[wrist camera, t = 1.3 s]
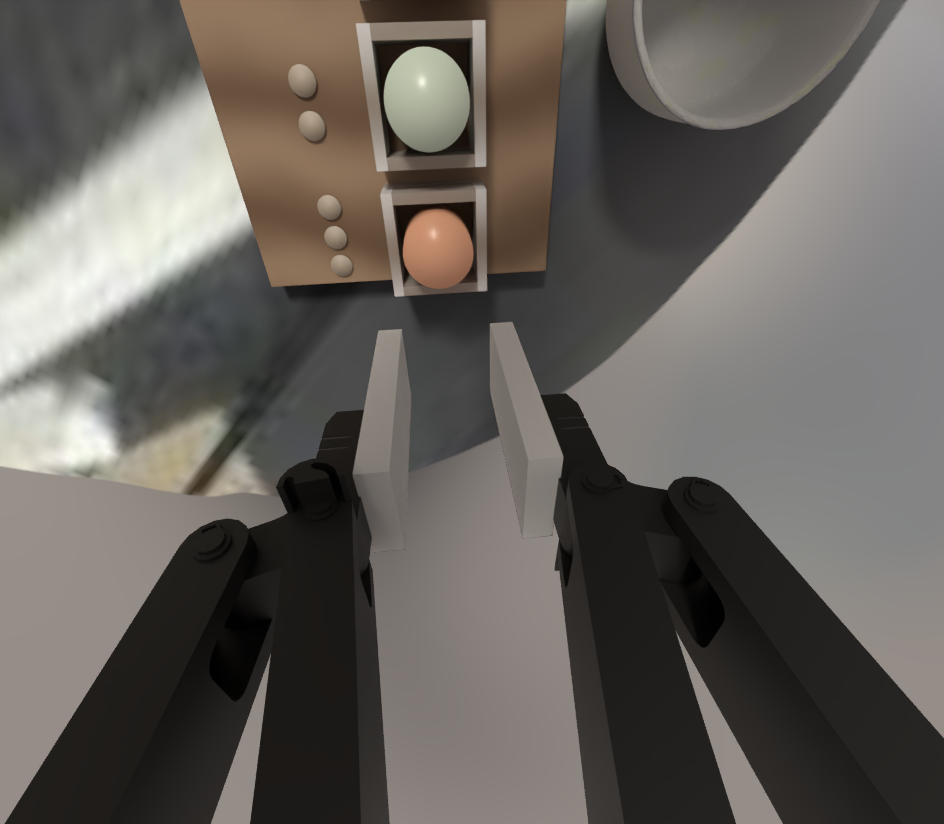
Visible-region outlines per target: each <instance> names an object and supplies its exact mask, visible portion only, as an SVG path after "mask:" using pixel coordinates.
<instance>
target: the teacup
mask: <svg viewBox="0 0 944 824" xmlns="http://www.w3.org/2000/svg"><path fill="white" fill-rule="evenodd" d="M880 1H881V0H607V5H606V37H607V44H608V50H609V55H610V59H611V62H612V65H613V68H614V71H615V73H616V76H617V78H618V80H619V82H620V83H621V85H622V87H623V88H624V90H625V91H626V92H627V93H628V95H629V96H630V97H631V98H632V99H633V100H634V101H635V102H636V103H637V104H638V105H639V106H641V107H642V108H643V109H645V110H646V111H648V112H650V113H652V114H654V115H656V116H659V117H662V118H665V119H668V120H672V121H676V122H681V123H687V124H689V125H692V126H695V127H698V128H702V129H708V130H727V129H736V128H739V127H743V126H749V125H752V124H755V123H758V122H761V121H763V120H765V119H768V118H770V117H772V116H774V115H776V114H778V113H780V112H782V111H783V110H785V109H786V108H788V107H789V106H791V105H792V104H794V103H796V102H797V101H799V100H800V99H801V98H802V97H804V96H805V95H806V94H808V93H809V92H810V91H811V90H812V89H813V88H814V87H815V86H816V85H818V84H819V83H820V82H821V81H822V80H823V79H824V78H825V77H826V76H827V75H828V74H829V73H830V72H831V71H832V70H833V69H834V68H835V66H836V65H837V63H838V62H839V61H840V60H841V59H842V58H843V57H844V56H845V55H846V54H847V52H848V50H849V48H850V47H851V46H852V45H853V43H854V42H855V41H856V39H857V37H858V36H859V35H860V34H861V32H862V31H863V30H864V29H865V27H866V25H867V23H868V21H869V20H870V18H871V16H872V15H873V13H874V11H875V10H876V8H877V6H878V4H879V3H880Z"/></svg>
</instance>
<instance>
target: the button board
mask: <svg viewBox="0 0 944 824" xmlns="http://www.w3.org/2000/svg"><path fill="white" fill-rule="evenodd" d="M180 3H181V6H182V9H183V12H184V16H185V19H186V22H187V25H188V28H189V31H190V34H191V37H192V40H193V44H194V47H195V50H196V53H197V56H198V59H199V62H200V65H201V68H202V71H203V75H204V78H205V81H206V84H207V87H208V90H209V93H210V96H211V99H212V103H213V106H214V109H215V112H216V115H217V118H218V121H219V124H220V127H221V131H222V134H223V137H224V140H225V143H226V146H227V149H228V152H229V155H230V158H231V162H232V165H233V168H234V171H235V174H236V177H237V180H238V183H239V186H240V190H241V193H242V196H243V199H244V202H245V205H246V208H247V211H248V214H249V218H250V221H251V224H252V227H253V230H254V233H255V236H256V239H257V242H258V246H259V249H260V252H261V255H262V258H263V261H264V264H265V267H266V270H267V273H268V277H269V280H270V283H271V286H272V287H277V286H293V285H310V284H327V283H344V282H361V281H377V280H393V287H394V294H395V297H397V296H413V295H429V294H445V293H462V292H478V291H487V274H495V273H512V272H529V271H545V269H546V256H547V243H548V231H549V218H550V205H551V192H552V179H553V166H554V153H555V141H556V128H557V115H558V102H559V89H560V76H561V63H562V51H563V38H564V25H565V12H566V0H180ZM416 47H432V48H436V49H438V50H441V51H442V52H444V53H446V54H447V55H448V56H450V57H451V58H452V59H453V60H454V61H455V62H456V64H457V65H458V66H459V68H460V69H461V71H462V73H463V75H464V77H465V79H466V82H467V86H468V90H469V97H470V109H469V115H468V119H467V123H466V125H465V128H464V130H463V132H462V133H461V135H460V136H459V138H458V139H457V140H456V141H455V142H454V143H453V144H451V145H450V146H449V147H447V148H445V149H443V150H440V151H437V152H422V151H418V150H415V149H413V148H411V147H410V146H408V145H407V144H405V143H404V142H403V141H402V140H401V139H400V138H399V137H398V136H397V135H396V133H395V132H394V130H393V129H392V127H391V125H390V123H389V120H388V118H387V115H386V111H385V106H384V87H385V82H386V78H387V75H388V73H389V70H390V69H391V67H392V65H393V64H394V62H395V61H396V60H397V59H398V58H399V57H400V56H401V55H402V54H403V53H405V52H406V51H408V50H410V49H413V48H416ZM429 205H443V206H446V207H449V208H451V209H453V210H454V211H456V212H457V213H458V214H459V215H460V216H461V217H462V219H463V220H464V222H465V224H466V226H467V229H468V232H469V235H470V238H471V241H472V245H473V252H474V254H473V262H472V265H471V268H470V270H469V272H468V274H467V275H466V276H465V277H464V278H463V279H462V280H461V281H460V282H459V283H457V284H456V285H454V286H451V287H448V288H443V289H434V288H430V287H426V286H424V285H422V284H420V283H419V282H417V281H416V280H415V279H414V278H413V277H412V276H411V275H410V273H409V272H408V270H407V268H406V266H405V263H404V259H403V245H404V236H405V230H406V226H407V224H408V222H409V220H410V218H411V217H412V216H413V215H414V213H416V212H417V211H418V210H420V209H421V208H423V207H426V206H429Z"/></svg>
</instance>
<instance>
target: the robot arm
mask: <svg viewBox="0 0 944 824" xmlns="http://www.w3.org/2000/svg"><path fill="white" fill-rule="evenodd" d="M490 393H491V397H492V402H493V406H494V411H495V415H496V420H497V425H498V429H499V434H500V438H501V443H502V447H503V452H504V456H505V461H506V465H507V470H508V474H509V479H510V483H511V488H512V492H513V497H514V501H515V506H516V511H517V515H518V520H519V524H520V529H521V533H522V537H523V538H533V537H544V536H552V535H553V528H554V524H555V527H556V530H557V533H558V537H559V543H558V550H557V556H556V562H555V571H560V580H561V587H562V597H563V605H564V614H565V623H566V631H567V641H568V649H569V657H570V667H571V675H572V684H573V693H574V702H575V710H576V719H577V728H578V735H579V745H580V754H581V762H582V770H583V780H584V789H585V797H586V805H587V815H588V823H589V824H736V823H735V819H734V816H733V813H732V809H731V806H730V803H729V800H728V797H727V794H726V790H725V787H724V784H723V781H722V778H721V774H720V771H719V768H718V765H717V762H716V759H715V755H714V752H713V749H712V746H711V743H710V739H709V736H708V733H707V730H706V727H705V723H704V720H703V717H702V714H701V711H700V708H699V704H698V701H697V698H696V695H695V692H694V689H693V685H692V682H691V679H690V676H689V672H688V670H687V666H686V663H685V660H684V657H683V654H682V650H681V647H680V644H679V641H678V637H677V634H678V635H679V637H680V639H681V641H682V643H683V645H684V646H685V648H686V650H687V652H688V654H689V655H690V657H691V659H692V661H693V663H694V664H695V666H696V668H697V670H698V672H699V673H700V675H701V677H702V679H703V681H704V682H705V684H706V686H707V688H708V689H709V691H710V693H711V695H712V697H713V699H714V700H715V702H716V704H717V706H718V707H719V709H720V711H721V713H722V715H723V716H724V718H725V720H726V722H727V724H728V725H729V727H730V729H731V731H732V733H733V734H734V736H735V738H736V740H737V742H738V743H739V745H740V747H741V749H742V751H743V752H744V754H745V756H746V758H747V759H748V761H749V763H750V765H751V767H752V769H753V770H754V772H755V774H756V776H757V777H758V779H759V781H760V783H761V785H762V786H763V788H764V790H765V792H766V794H767V796H768V797H769V799H770V801H771V803H772V805H773V806H774V808H775V810H776V812H777V813H778V815H779V817H780V819H781V821H782V823H783V824H944V738H943V737H942V736H941V735H940V734H939V732H938V731H937V730H936V729H935V728H934V727H933V726H932V724H931V723H930V722H929V721H928V720H927V719H926V718H925V717H924V715H923V714H922V713H921V712H920V711H919V710H918V709H917V707H916V706H915V705H914V704H913V703H912V702H911V701H910V699H909V698H908V697H907V696H906V695H905V694H904V692H903V691H902V690H901V689H900V688H899V687H898V686H897V684H896V683H895V682H894V681H893V680H892V679H891V678H890V676H889V675H888V674H887V673H886V672H885V671H884V670H883V669H882V667H881V666H880V665H879V664H878V663H877V662H876V660H875V659H874V658H873V657H872V656H871V655H870V654H869V652H868V651H867V650H866V649H865V648H864V647H863V646H862V645H861V643H860V642H859V641H858V640H857V639H856V638H855V636H854V635H853V634H852V633H851V632H850V631H849V630H848V628H847V627H846V626H845V625H844V624H843V623H842V622H841V621H840V619H839V618H838V617H837V616H836V615H835V614H834V613H833V611H832V610H831V609H830V608H829V607H828V606H827V605H826V603H825V602H824V601H823V600H822V599H821V598H820V597H819V595H818V594H817V593H816V592H815V591H814V590H813V589H812V587H811V586H810V585H809V584H808V583H807V582H806V581H805V579H804V578H803V577H802V576H801V575H800V574H799V573H798V571H797V570H796V569H795V568H794V567H793V566H792V565H791V563H790V562H789V561H788V560H787V559H786V558H785V557H784V556H783V554H782V553H781V552H780V551H779V550H778V549H777V548H776V546H775V545H774V544H773V543H772V542H771V541H770V539H769V538H768V537H767V536H766V535H765V534H764V533H763V532H762V530H761V529H760V528H759V527H758V526H757V525H756V523H755V522H754V521H753V520H752V519H751V518H750V517H749V515H748V514H747V513H746V512H745V511H744V510H743V509H742V508H741V506H740V505H739V504H738V503H737V502H736V501H735V500H734V498H733V497H732V496H731V495H730V494H729V493H728V492H727V491H725V490H724V489H723V488H722V487H721V486H719V485H717V484H715V483H713V482H711V481H709V480H706V479H702V478H698V477H682V478H679V479H677V480H674V481H673V483H672V484H671V485H670V486H669V488H668V490H664V489H658V488H652V487H646V486H640V485H636V484H633V483H630V482H628V481H627V479H626V477H625V476H624V475H623V474H622V473H621V472H620V471H619V470H617V469H616V468H614V467H612V466H609V465H608V464H607V462H606V460H605V458H604V456H603V454H602V452H601V450H600V448H599V446H598V444H597V441H596V439H595V438H594V435H593V433H592V431H591V429H590V428H589V425H588V423H587V421H586V419H585V418H584V415H583V413H582V411H581V409H580V407H579V405H578V403H577V402H576V401H574V400H573V399H572V398H571V397H569V396H568V395H567V394H566V393H565V394H552V395H540V393H539V391H538V388H537V386H536V383H535V380H534V378H533V375H532V372H531V370H530V367H529V364H528V362H527V359H526V356H525V354H524V351H523V349H522V346H521V343H520V341H519V338H518V335H517V333H516V330H515V327H514V325H513V322H504V323H490ZM410 411H411V393H410V386H409V379H408V371H407V364H406V357H405V350H404V343H403V336H402V329H398V330H383V331H378V336H377V342H376V347H375V353H374V358H373V364H372V369H371V375H370V380H369V386H368V391H367V397H366V402H365V408H364V410H357V411H343V412H336V413H335V414H334V416H333V417H332V418H331V419H330V420H329V421H328V422H327V423H326V426H325V429H324V432H323V436H322V440H321V443H320V446H319V451H318V453H317V457H316V459H310V460H307V461H304V462H301V463H298V464H297V465H295V466H293V467H292V468H290V469H288V470H287V471H286V472H285V473H284V475H283V476H282V477H281V478H280V480H279V482H278V484H277V487H276V488H277V490H278V492H279V495H280V497H281V499H282V501H283V503H284V506H285V508H286V510H287V512H288V513H287V514H285V515H284V516H282V517H280V518H277V519H275V520H273V521H270V522H267V523H264V524H261V525H259V526H255V527H252V528H249V529H248V528H247V526H246V525H244V524H243V523H242V522H240V521H239V520H233V519H222V520H217V521H213V522H211V523H208V524H206V525H204V526H201V527H200V528H199V529H197V530H196V531H194V532H193V533H192V534H190V535H189V536H188V537H187V538H186V540H185V541H184V542H183V543H182V544H181V545H180V547H179V548H178V550H177V551H176V553H175V555H174V556H173V558H172V559H171V561H170V563H169V564H168V566H167V567H166V569H165V570H164V572H163V574H162V575H161V577H160V579H159V580H158V582H157V583H156V585H155V586H154V588H153V590H152V591H151V593H150V594H149V596H148V597H147V599H146V601H145V602H144V604H143V605H142V607H141V608H140V610H139V612H138V613H137V615H136V616H135V618H134V620H133V621H132V623H131V624H130V626H129V628H128V629H127V631H126V633H125V634H124V636H123V637H122V639H121V640H120V642H119V644H118V645H117V647H116V648H115V650H114V651H113V653H112V654H111V656H110V658H109V659H108V661H107V663H106V664H105V666H104V667H103V669H102V670H101V672H100V673H99V675H98V677H97V678H96V680H95V681H94V683H93V685H92V686H91V688H90V690H89V691H88V693H87V694H86V696H85V697H84V699H83V701H82V702H81V704H80V705H79V707H78V708H77V710H76V712H75V713H74V715H73V716H72V718H71V719H70V721H69V723H68V724H67V726H66V728H65V729H64V731H63V732H62V734H61V735H60V737H59V738H58V740H57V742H56V743H55V745H54V746H53V748H52V750H51V751H50V753H49V754H48V756H47V758H46V759H45V761H44V762H43V764H42V765H41V767H40V769H39V770H38V772H37V773H36V775H35V777H34V778H33V780H32V781H31V783H30V784H29V786H28V788H27V789H26V791H25V792H24V794H23V796H22V797H21V799H20V800H19V802H18V803H17V805H16V807H15V808H14V810H13V811H12V813H11V815H10V816H9V818H8V819H7V821H6V823H5V824H211V821H212V818H213V816H214V813H215V810H216V807H217V804H218V801H219V799H220V796H221V793H222V790H223V787H224V784H225V782H226V779H227V776H228V773H229V770H230V767H231V764H232V762H233V759H234V756H235V753H236V750H237V748H238V745H239V742H240V739H241V736H242V733H243V731H244V728H245V725H246V722H247V719H248V716H249V714H250V711H251V708H252V705H253V702H254V699H255V697H256V694H257V691H258V688H259V685H260V682H261V680H262V677H263V673H264V671H265V668H266V665H267V662H268V660H269V657H270V654H271V658H270V667H269V675H268V683H267V691H266V700H265V708H264V715H263V723H262V732H261V740H260V749H259V756H258V764H257V772H256V781H255V789H254V797H253V805H252V813H251V821H250V824H389V810H388V795H387V779H386V764H385V749H384V735H383V719H382V704H381V689H380V674H379V659H378V644H377V629H376V614H375V599H374V584H373V570H372V567H371V564H370V560H369V556H370V547H371V542H372V546H373V550H374V552H386V551H396V550H405V543H406V517H407V490H408V464H409V437H410ZM675 630H676V631H675ZM676 632H677V634H676Z"/></svg>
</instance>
